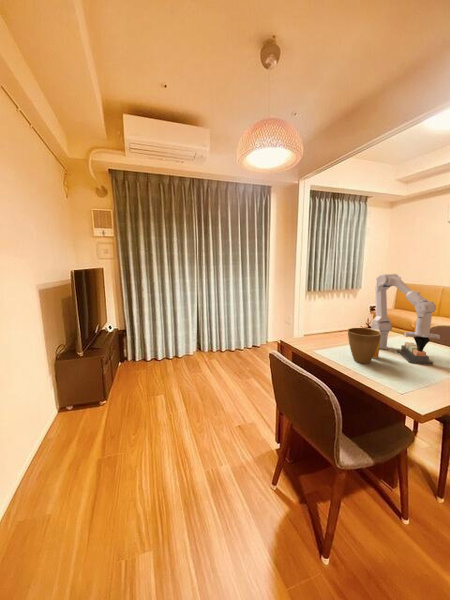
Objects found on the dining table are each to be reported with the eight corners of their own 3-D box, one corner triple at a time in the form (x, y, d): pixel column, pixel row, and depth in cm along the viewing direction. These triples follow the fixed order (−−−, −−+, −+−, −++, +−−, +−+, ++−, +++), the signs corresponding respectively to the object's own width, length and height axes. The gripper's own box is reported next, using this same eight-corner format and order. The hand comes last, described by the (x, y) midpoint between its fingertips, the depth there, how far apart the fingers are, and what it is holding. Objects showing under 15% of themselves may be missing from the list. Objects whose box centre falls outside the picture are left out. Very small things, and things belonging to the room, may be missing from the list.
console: (409, 362, 125) (410, 355, 124) (396, 351, 140) (397, 345, 139) (432, 365, 122) (433, 357, 121) (417, 353, 137) (418, 346, 137)
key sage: (411, 353, 129) (412, 347, 129) (408, 350, 133) (409, 345, 132) (420, 354, 128) (421, 348, 128) (416, 351, 132) (417, 345, 131)
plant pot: (372, 356, 133) (375, 328, 130) (382, 368, 119) (385, 336, 116) (342, 354, 137) (345, 326, 134) (348, 365, 123) (351, 334, 120)
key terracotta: (416, 357, 124) (416, 351, 124) (412, 354, 128) (413, 349, 128) (425, 358, 123) (426, 352, 123) (421, 355, 127) (422, 349, 126)
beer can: (380, 358, 130) (382, 331, 127) (367, 358, 131) (370, 331, 129) (375, 354, 136) (378, 328, 133) (363, 353, 137) (366, 328, 134)
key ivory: (407, 349, 134) (408, 344, 134) (404, 347, 138) (404, 342, 137) (415, 350, 133) (416, 345, 132) (412, 347, 137) (413, 342, 136)
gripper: (409, 326, 121) (406, 352, 123) (445, 328, 117) (441, 355, 119) (403, 322, 128) (400, 347, 130) (436, 324, 124) (433, 350, 126)
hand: (419, 351), depth 125 cm, fingers closed, pressing on key terracotta
